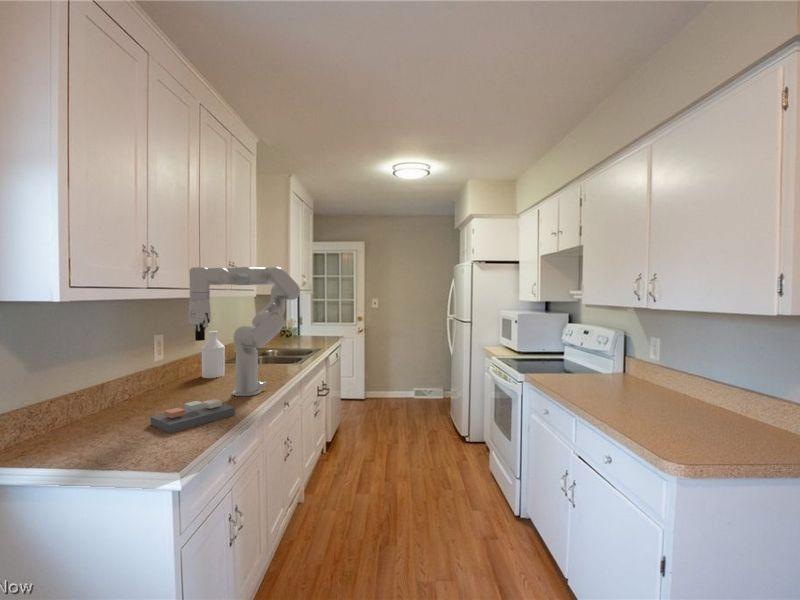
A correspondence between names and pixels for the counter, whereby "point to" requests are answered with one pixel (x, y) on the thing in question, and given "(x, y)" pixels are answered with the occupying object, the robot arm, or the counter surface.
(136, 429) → the counter surface
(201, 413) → the keypad
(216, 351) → the bottle
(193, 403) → the sage key
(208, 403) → the cream key
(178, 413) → the terracotta key
